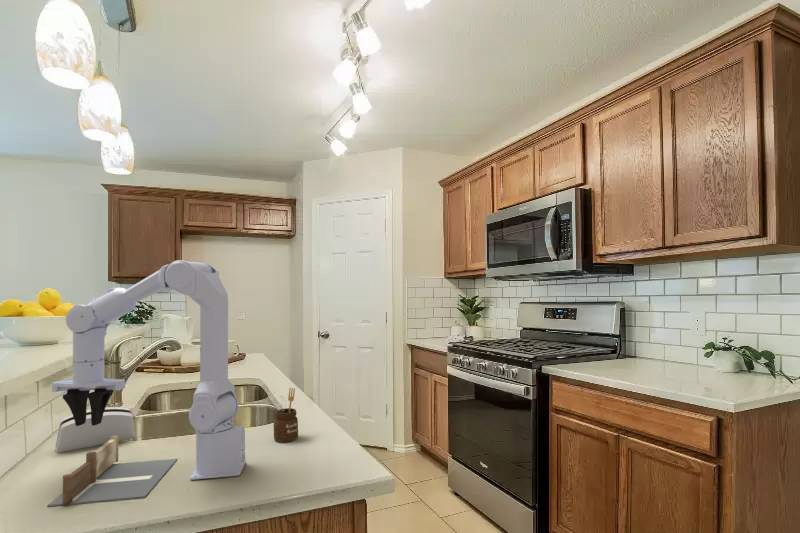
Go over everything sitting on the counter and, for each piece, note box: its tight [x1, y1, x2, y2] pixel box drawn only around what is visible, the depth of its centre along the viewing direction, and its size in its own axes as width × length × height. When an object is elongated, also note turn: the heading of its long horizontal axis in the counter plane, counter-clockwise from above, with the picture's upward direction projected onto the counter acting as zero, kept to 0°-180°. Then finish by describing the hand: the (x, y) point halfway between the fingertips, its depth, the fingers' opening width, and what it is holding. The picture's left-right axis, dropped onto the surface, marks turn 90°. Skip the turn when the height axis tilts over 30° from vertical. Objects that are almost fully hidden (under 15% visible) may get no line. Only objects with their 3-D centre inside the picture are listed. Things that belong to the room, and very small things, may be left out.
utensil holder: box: [273, 387, 299, 444], centre depth 116 cm, size 6×6×12 cm
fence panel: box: [93, 435, 119, 477], centre depth 98 cm, size 10×1×5 cm, turn 10°
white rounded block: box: [55, 406, 136, 453], centre depth 117 cm, size 17×5×10 cm, turn 127°
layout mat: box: [47, 458, 178, 508], centre depth 93 cm, size 16×19×1 cm
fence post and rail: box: [62, 451, 96, 507], centre depth 87 cm, size 2×10×6 cm, turn 9°
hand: (88, 424), depth 100 cm, fingers open, 3 cm apart
